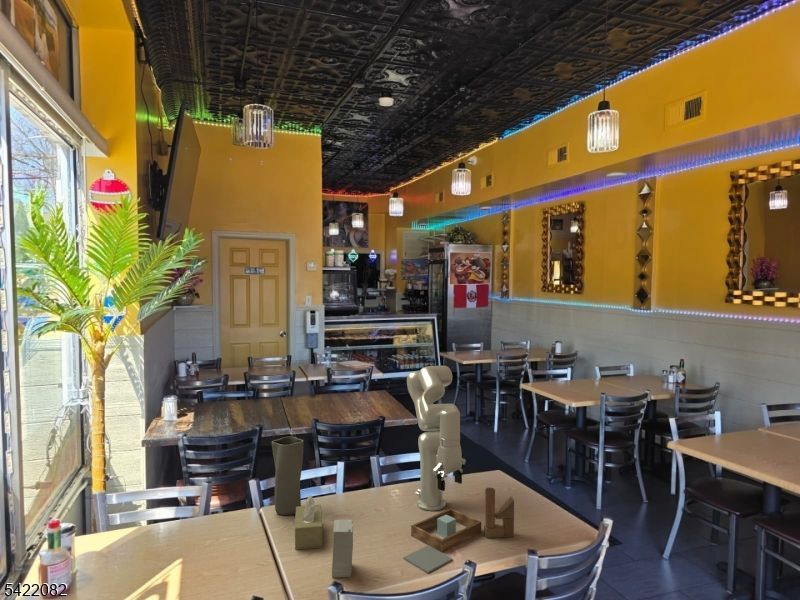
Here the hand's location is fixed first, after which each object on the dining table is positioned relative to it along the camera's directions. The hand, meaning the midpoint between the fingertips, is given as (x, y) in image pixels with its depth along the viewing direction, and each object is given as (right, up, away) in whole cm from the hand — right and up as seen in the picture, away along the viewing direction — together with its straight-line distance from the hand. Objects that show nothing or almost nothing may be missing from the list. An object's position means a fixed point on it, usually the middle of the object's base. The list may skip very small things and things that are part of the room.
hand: (449, 486), depth 193 cm
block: (-1, -19, +1) cm, 19 cm away
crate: (-1, -19, +1) cm, 19 cm away
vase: (-66, -18, +21) cm, 72 cm away
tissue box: (-54, -19, 0) cm, 57 cm away
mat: (-9, -19, -17) cm, 27 cm away
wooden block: (+19, -19, 0) cm, 26 cm away
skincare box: (-38, -20, -24) cm, 49 cm away
